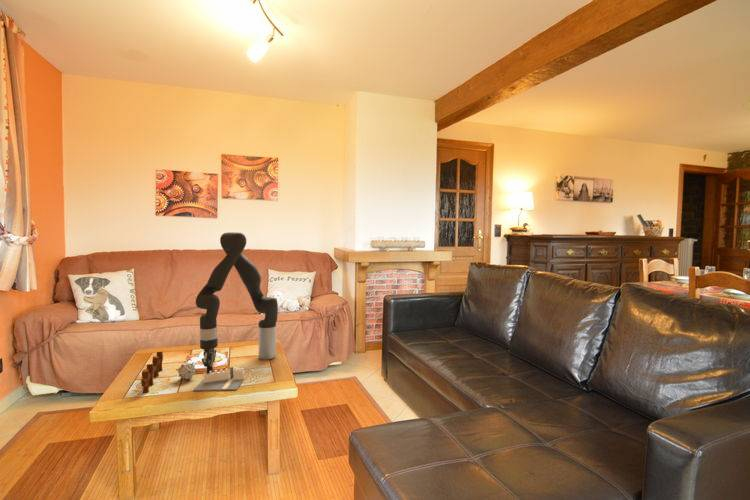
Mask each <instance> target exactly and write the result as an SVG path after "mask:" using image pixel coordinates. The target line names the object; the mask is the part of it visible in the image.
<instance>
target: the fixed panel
mask: <svg viewBox="0 0 750 500" xmlns="http://www.w3.org/2000/svg"><path fill="white" fill-rule="evenodd" d="M233 378H234V379H244V380H245V370H244V367H241V368H240V367H233Z"/></svg>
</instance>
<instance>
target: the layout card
mask: <svg viewBox="0 0 750 500" xmlns="http://www.w3.org/2000/svg"><path fill="white" fill-rule="evenodd" d="M244 381H245V378H244V379H234V377H233V378H232V379H231V378H230V379H225V380H218V381H212V382H205V383H204V378H203V379H202V380H201V381H200V382H199V383H198V384H197V385H196V386H195V387H194V388H193V389H192V392H220V391H221V392H222V391H223V392H228V391H233V392H235V391H238V389H239V388H240V386H241V385H242V384H243V382H244Z"/></svg>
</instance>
